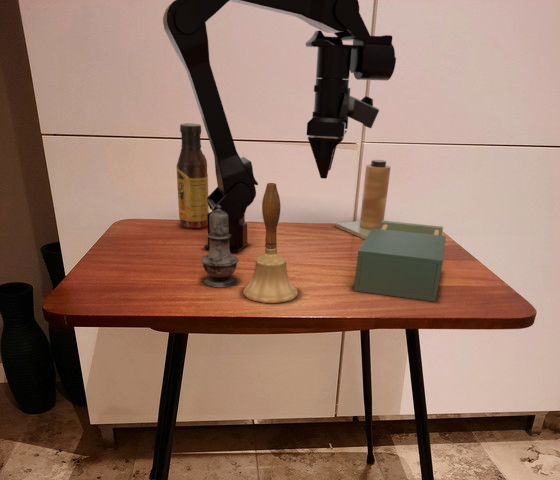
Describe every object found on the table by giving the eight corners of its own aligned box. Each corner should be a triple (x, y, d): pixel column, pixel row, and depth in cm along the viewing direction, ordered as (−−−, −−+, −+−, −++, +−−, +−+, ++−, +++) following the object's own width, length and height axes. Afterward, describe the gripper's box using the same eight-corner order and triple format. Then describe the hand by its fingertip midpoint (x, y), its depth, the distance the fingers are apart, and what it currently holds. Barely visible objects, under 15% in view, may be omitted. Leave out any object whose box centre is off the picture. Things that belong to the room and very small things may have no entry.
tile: (365, 239, 111) (366, 235, 111) (335, 226, 119) (336, 223, 119) (407, 234, 116) (408, 230, 115) (376, 222, 124) (376, 219, 124)
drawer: (381, 239, 108) (384, 215, 106) (439, 246, 106) (443, 221, 103) (368, 265, 94) (372, 237, 91) (435, 273, 91) (440, 245, 89)
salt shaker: (233, 289, 83) (232, 209, 78) (196, 285, 84) (193, 206, 79) (242, 277, 88) (242, 201, 83) (208, 273, 89) (205, 198, 84)
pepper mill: (366, 230, 114) (374, 162, 108) (355, 224, 118) (362, 159, 112) (387, 229, 116) (395, 162, 109) (375, 223, 120) (383, 158, 114)
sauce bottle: (180, 222, 118) (174, 121, 109) (209, 222, 119) (206, 122, 109) (178, 230, 113) (172, 124, 103) (209, 230, 113) (206, 125, 104)
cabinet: (367, 264, 97) (371, 228, 94) (439, 272, 94) (445, 235, 91) (353, 290, 85) (358, 250, 82) (435, 301, 82) (443, 260, 79)
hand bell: (242, 302, 79) (241, 188, 71) (244, 283, 86) (244, 177, 78) (299, 304, 79) (305, 190, 71) (296, 284, 86) (301, 179, 79)
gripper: (380, 81, 85) (368, 185, 92) (379, 80, 101) (369, 169, 109) (309, 78, 86) (303, 181, 94) (319, 77, 102) (313, 165, 110)
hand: (325, 174), depth 101 cm, fingers open, 9 cm apart
